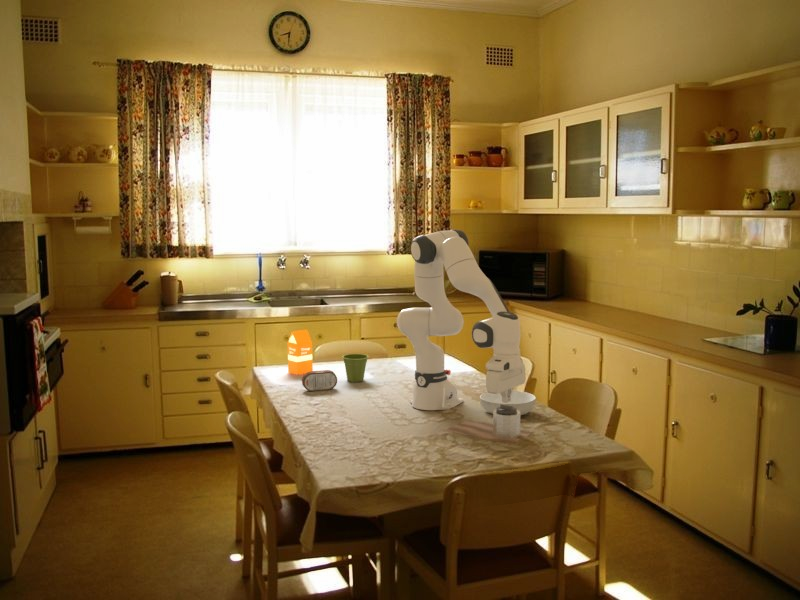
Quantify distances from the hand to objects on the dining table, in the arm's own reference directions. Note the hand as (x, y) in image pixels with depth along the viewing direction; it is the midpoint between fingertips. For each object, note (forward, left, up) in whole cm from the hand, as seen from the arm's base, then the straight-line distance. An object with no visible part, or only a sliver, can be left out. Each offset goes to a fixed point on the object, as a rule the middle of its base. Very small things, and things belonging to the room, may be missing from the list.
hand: (506, 401), depth 251 cm
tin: (-12, -98, -13) cm, 100 cm away
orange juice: (-32, -130, -13) cm, 135 cm away
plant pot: (-34, -97, -13) cm, 104 cm away
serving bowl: (-27, -15, -13) cm, 34 cm away
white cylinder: (0, 0, -12) cm, 12 cm away
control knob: (0, 0, -7) cm, 7 cm away
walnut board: (0, -7, -13) cm, 15 cm away
